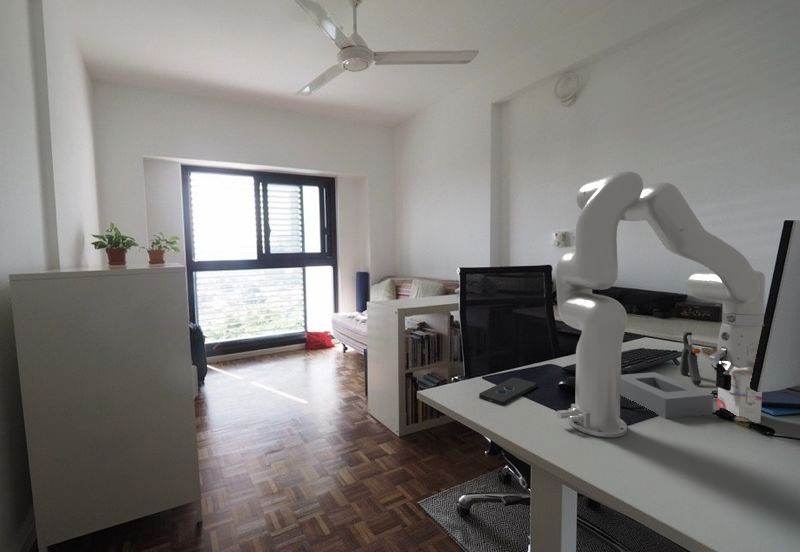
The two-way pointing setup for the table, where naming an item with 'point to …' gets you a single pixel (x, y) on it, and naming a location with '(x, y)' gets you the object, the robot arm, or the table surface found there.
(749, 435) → the table surface
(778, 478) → the table surface
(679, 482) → the table surface
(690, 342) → the hand grip strengthener
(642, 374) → the cartridge dock
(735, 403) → the ink cartridge box
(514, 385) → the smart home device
